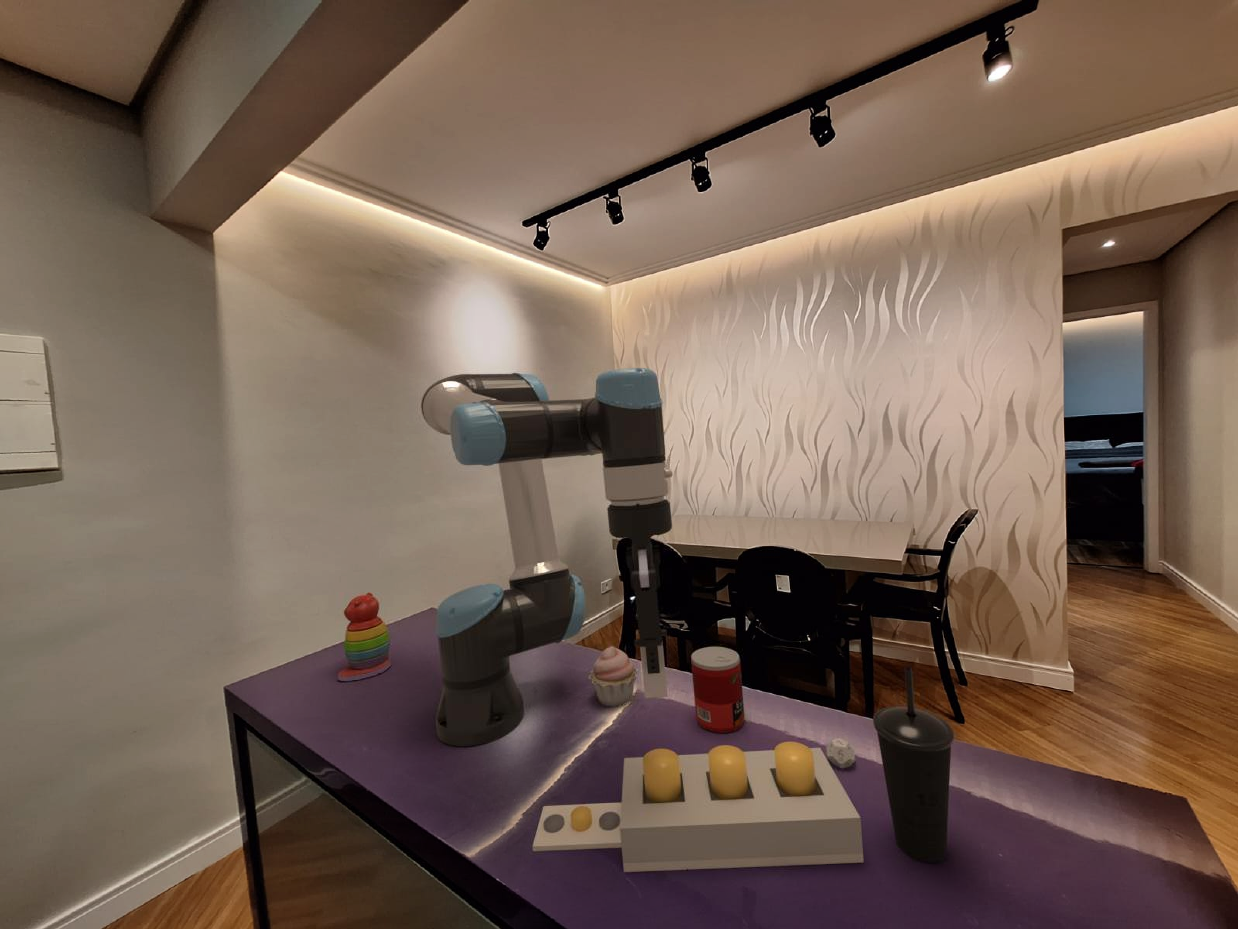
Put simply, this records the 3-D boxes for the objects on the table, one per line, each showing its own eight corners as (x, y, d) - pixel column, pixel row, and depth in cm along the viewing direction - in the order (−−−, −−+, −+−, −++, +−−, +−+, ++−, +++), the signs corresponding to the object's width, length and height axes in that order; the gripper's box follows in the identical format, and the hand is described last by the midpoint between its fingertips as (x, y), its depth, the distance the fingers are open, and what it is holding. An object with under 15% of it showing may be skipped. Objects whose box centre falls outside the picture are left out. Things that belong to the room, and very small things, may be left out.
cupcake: (630, 715, 85) (625, 659, 84) (582, 709, 88) (577, 655, 88) (647, 688, 93) (643, 637, 93) (603, 683, 97) (598, 634, 97)
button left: (645, 806, 57) (642, 773, 57) (645, 780, 62) (642, 749, 62) (682, 804, 57) (680, 771, 57) (680, 778, 61) (677, 747, 61)
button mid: (713, 803, 57) (710, 769, 57) (708, 777, 61) (706, 746, 61) (751, 801, 57) (748, 767, 56) (743, 775, 61) (741, 744, 61)
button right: (782, 799, 56) (780, 766, 56) (772, 773, 61) (770, 742, 61) (821, 797, 56) (818, 764, 56) (808, 772, 61) (806, 740, 60)
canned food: (746, 735, 76) (740, 666, 76) (695, 733, 78) (689, 666, 78) (743, 708, 84) (738, 646, 83) (697, 707, 85) (691, 646, 85)
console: (623, 872, 54) (619, 828, 54) (627, 794, 66) (624, 758, 66) (863, 862, 52) (860, 817, 52) (822, 784, 64) (820, 747, 64)
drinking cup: (866, 823, 57) (855, 658, 57) (927, 813, 58) (916, 650, 57) (910, 880, 50) (898, 690, 49) (980, 868, 50) (968, 680, 50)
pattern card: (533, 851, 58) (531, 836, 58) (544, 810, 64) (542, 797, 64) (625, 847, 57) (623, 832, 57) (627, 806, 63) (625, 793, 63)
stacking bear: (364, 660, 119) (356, 589, 118) (402, 659, 118) (394, 587, 117) (332, 682, 108) (323, 604, 108) (374, 681, 107) (365, 602, 106)
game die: (839, 775, 66) (837, 753, 66) (821, 758, 70) (820, 738, 69) (861, 769, 67) (860, 747, 67) (843, 752, 70) (841, 732, 70)
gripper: (672, 504, 51) (692, 723, 52) (666, 492, 64) (682, 667, 65) (602, 510, 52) (622, 727, 52) (610, 497, 65) (627, 671, 65)
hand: (656, 694), depth 59 cm, fingers closed
